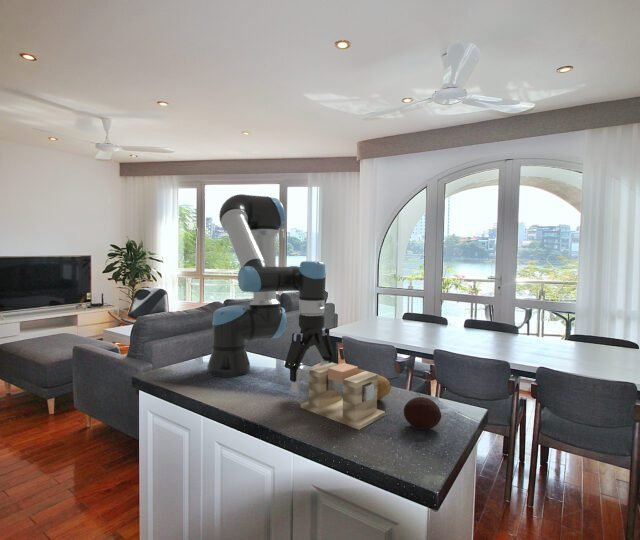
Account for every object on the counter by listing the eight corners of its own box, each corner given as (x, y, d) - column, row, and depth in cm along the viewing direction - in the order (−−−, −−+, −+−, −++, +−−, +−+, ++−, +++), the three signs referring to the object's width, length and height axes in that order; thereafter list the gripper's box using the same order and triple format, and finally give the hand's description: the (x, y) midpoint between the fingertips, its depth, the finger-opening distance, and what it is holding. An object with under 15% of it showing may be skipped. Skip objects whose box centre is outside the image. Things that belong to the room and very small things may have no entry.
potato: (378, 410, 109) (378, 381, 108) (341, 396, 119) (341, 370, 119) (398, 401, 116) (399, 374, 115) (361, 388, 126) (362, 364, 125)
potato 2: (402, 419, 103) (403, 390, 102) (439, 423, 101) (440, 393, 101) (403, 433, 95) (404, 402, 95) (442, 437, 93) (444, 405, 93)
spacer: (327, 379, 106) (327, 368, 106) (343, 373, 111) (343, 363, 111) (342, 383, 103) (342, 372, 102) (357, 377, 108) (358, 366, 108)
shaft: (291, 381, 116) (291, 364, 116) (303, 377, 120) (303, 360, 120) (364, 405, 99) (364, 385, 99) (375, 399, 103) (375, 380, 103)
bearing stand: (300, 407, 109) (301, 368, 109) (328, 396, 118) (329, 360, 118) (359, 429, 96) (360, 385, 96) (384, 415, 105) (386, 375, 105)
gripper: (291, 320, 102) (289, 401, 103) (347, 311, 121) (345, 380, 122) (272, 316, 107) (270, 393, 108) (328, 308, 126) (327, 374, 126)
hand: (310, 386), depth 115 cm, fingers open, 12 cm apart
